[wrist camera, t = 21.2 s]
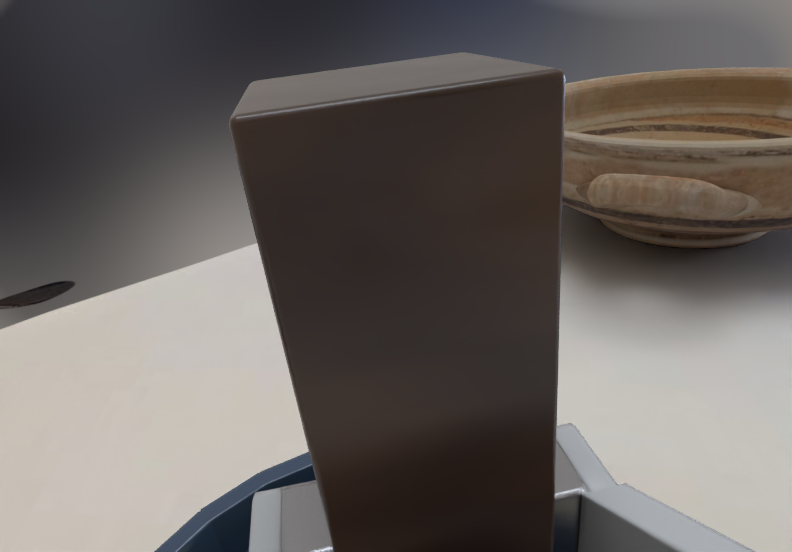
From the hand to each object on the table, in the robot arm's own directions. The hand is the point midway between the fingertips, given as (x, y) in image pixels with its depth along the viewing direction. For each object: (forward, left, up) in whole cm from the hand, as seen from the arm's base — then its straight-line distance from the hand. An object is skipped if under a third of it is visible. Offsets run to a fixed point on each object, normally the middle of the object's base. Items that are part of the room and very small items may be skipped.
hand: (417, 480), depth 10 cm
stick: (0, -1, -8) cm, 9 cm away
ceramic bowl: (+29, +31, -11) cm, 43 cm away
